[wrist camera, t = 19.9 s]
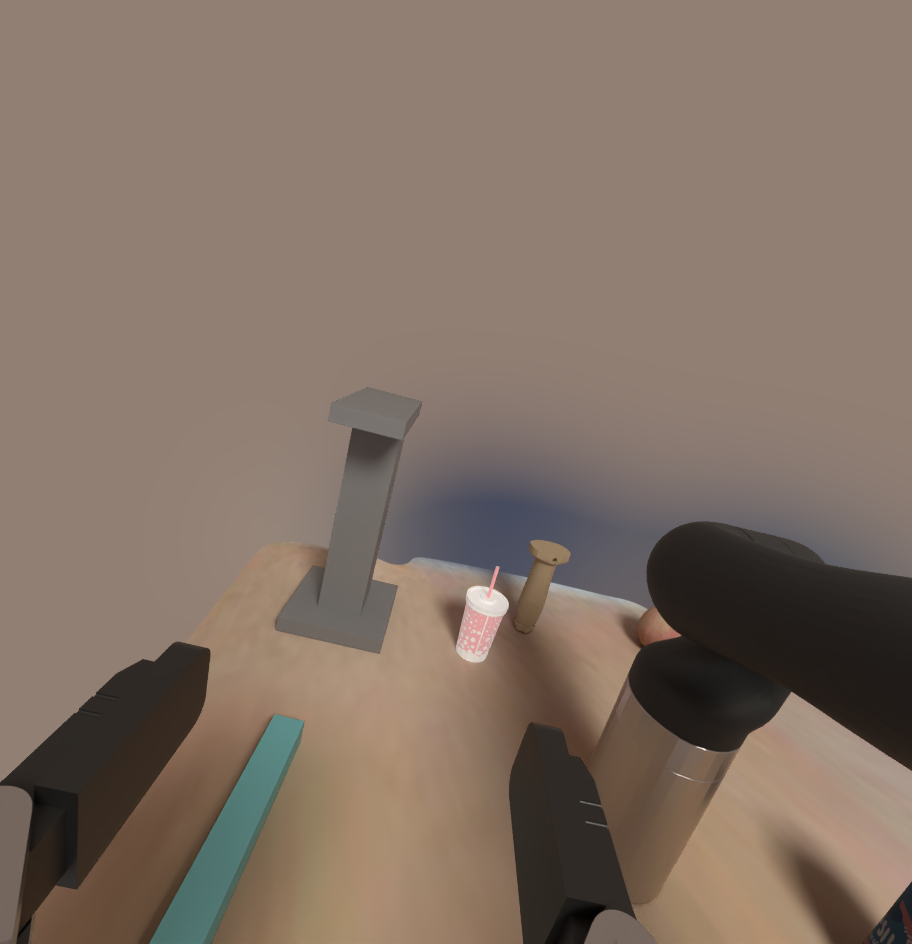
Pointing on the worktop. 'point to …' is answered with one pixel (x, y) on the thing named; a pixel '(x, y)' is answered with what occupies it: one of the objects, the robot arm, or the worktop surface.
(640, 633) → the apple
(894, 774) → the worktop surface
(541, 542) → the handle
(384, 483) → the gray stand
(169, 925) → the teal bar
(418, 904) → the worktop surface
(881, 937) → the soda can
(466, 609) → the beverage cup
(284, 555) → the worktop surface
